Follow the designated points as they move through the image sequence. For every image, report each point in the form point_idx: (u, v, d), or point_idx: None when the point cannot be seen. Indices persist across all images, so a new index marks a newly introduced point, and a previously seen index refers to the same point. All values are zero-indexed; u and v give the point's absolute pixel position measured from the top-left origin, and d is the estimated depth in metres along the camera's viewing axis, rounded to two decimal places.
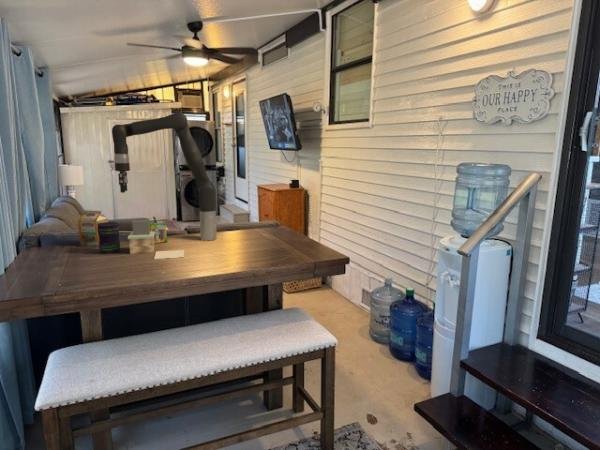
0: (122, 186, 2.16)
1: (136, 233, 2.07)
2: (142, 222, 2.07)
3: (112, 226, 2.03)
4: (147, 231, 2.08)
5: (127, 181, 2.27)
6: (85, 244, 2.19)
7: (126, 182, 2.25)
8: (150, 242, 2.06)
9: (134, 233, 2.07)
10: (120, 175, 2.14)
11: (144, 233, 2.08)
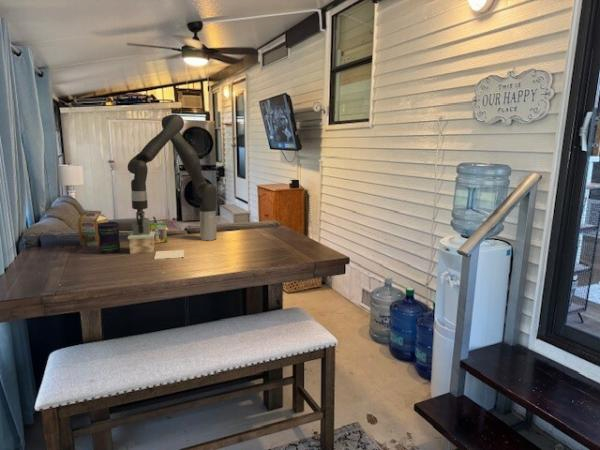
0: (140, 226, 2.06)
1: (136, 233, 2.07)
2: None
3: (112, 226, 2.03)
4: (147, 231, 2.08)
5: None
6: (85, 244, 2.19)
7: None
8: (150, 242, 2.06)
9: (134, 233, 2.07)
10: (138, 217, 2.01)
11: (144, 233, 2.08)
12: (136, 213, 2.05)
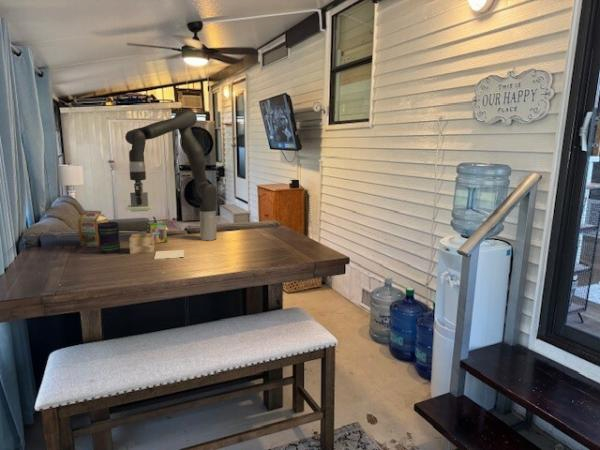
0: (139, 198, 2.03)
1: (134, 205, 2.04)
2: None
3: (112, 226, 2.03)
4: (145, 203, 2.05)
5: None
6: (85, 244, 2.19)
7: None
8: (150, 242, 2.06)
9: (132, 205, 2.04)
10: (136, 188, 1.98)
11: (142, 205, 2.05)
12: (134, 184, 2.02)
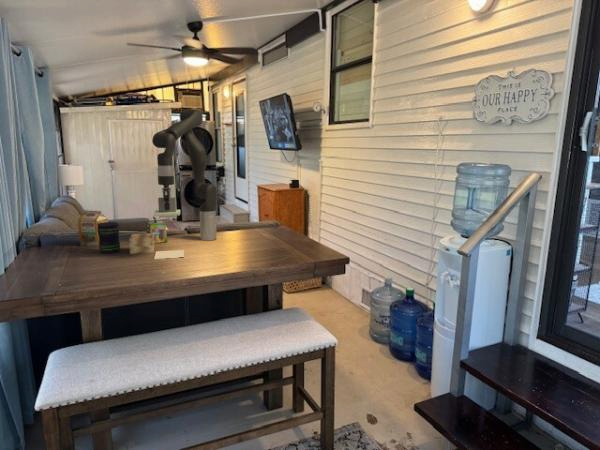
0: (167, 203, 1.96)
1: (162, 210, 1.97)
2: None
3: (112, 226, 2.03)
4: (173, 208, 1.99)
5: None
6: (85, 244, 2.19)
7: None
8: (150, 242, 2.06)
9: (160, 210, 1.97)
10: (165, 193, 1.92)
11: (170, 210, 1.98)
12: (162, 189, 1.95)
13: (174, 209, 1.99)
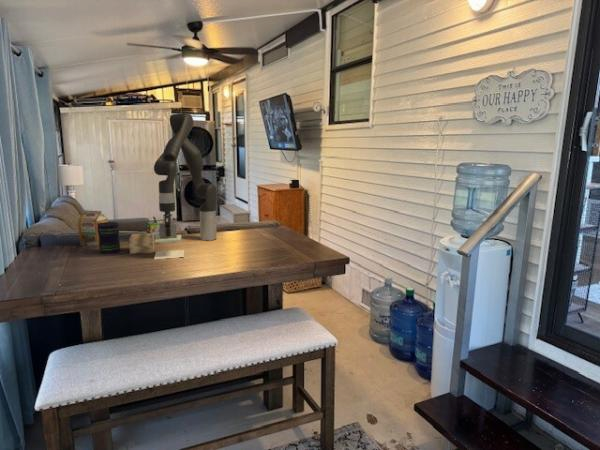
0: (168, 230, 1.99)
1: (163, 236, 2.00)
2: None
3: (112, 226, 2.03)
4: (174, 234, 2.01)
5: None
6: (85, 244, 2.19)
7: None
8: (150, 242, 2.06)
9: (161, 236, 2.00)
10: (166, 220, 1.94)
11: (171, 236, 2.01)
12: (163, 216, 1.98)
13: (175, 235, 2.01)
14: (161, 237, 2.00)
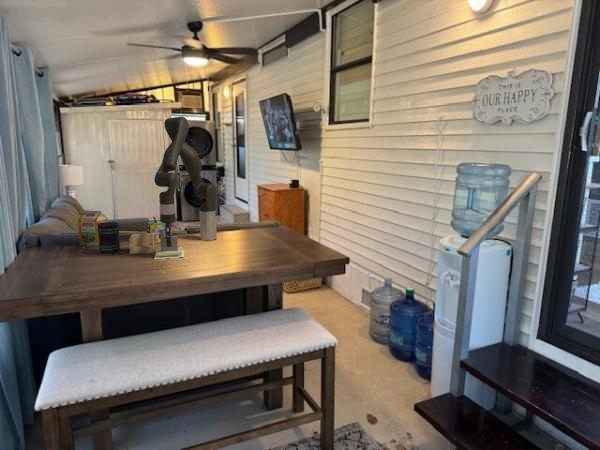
0: (168, 240, 1.98)
1: (164, 249, 2.01)
2: None
3: (112, 226, 2.03)
4: (175, 247, 2.02)
5: None
6: (85, 244, 2.19)
7: (171, 234, 2.05)
8: (150, 242, 2.06)
9: (162, 249, 2.01)
10: (167, 229, 1.95)
11: (172, 249, 2.02)
12: (164, 226, 1.99)
13: (176, 248, 2.03)
14: (162, 250, 2.01)
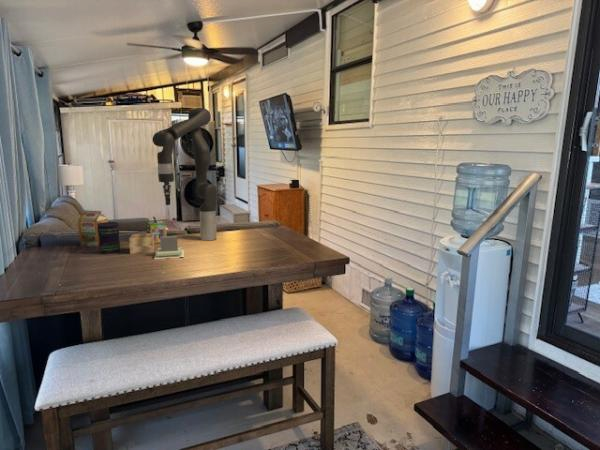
0: (167, 198, 2.02)
1: (164, 249, 2.01)
2: (170, 238, 2.01)
3: (112, 226, 2.03)
4: (175, 247, 2.02)
5: None
6: (85, 244, 2.19)
7: (169, 193, 2.11)
8: (150, 242, 2.06)
9: (162, 249, 2.01)
10: (166, 187, 1.99)
11: (172, 249, 2.02)
12: (163, 186, 2.04)
13: (176, 248, 2.03)
14: (162, 250, 2.01)
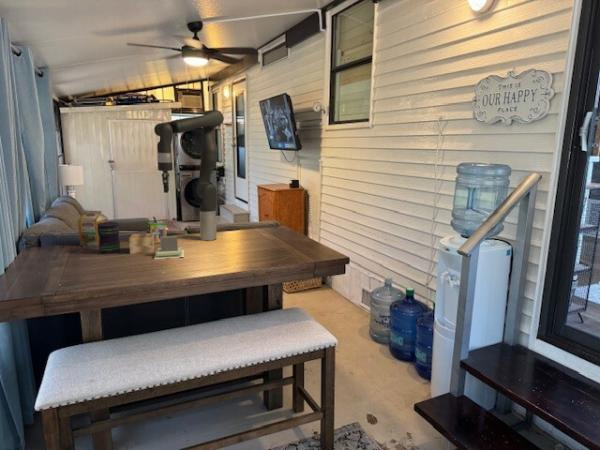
0: (166, 186, 2.11)
1: (164, 249, 2.01)
2: (170, 238, 2.01)
3: (112, 226, 2.03)
4: (175, 247, 2.02)
5: None
6: (85, 244, 2.19)
7: (168, 182, 2.20)
8: (150, 242, 2.06)
9: (162, 249, 2.01)
10: (164, 175, 2.08)
11: (172, 249, 2.02)
12: (162, 174, 2.13)
13: (176, 248, 2.03)
14: (162, 250, 2.01)
